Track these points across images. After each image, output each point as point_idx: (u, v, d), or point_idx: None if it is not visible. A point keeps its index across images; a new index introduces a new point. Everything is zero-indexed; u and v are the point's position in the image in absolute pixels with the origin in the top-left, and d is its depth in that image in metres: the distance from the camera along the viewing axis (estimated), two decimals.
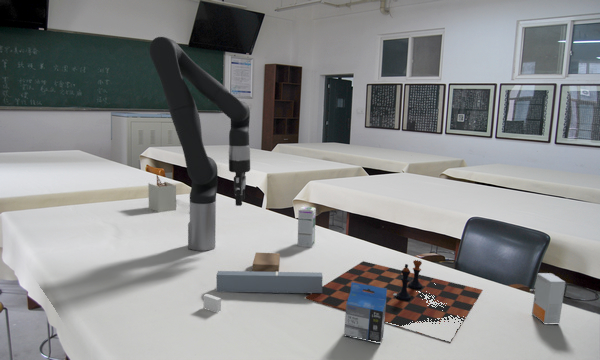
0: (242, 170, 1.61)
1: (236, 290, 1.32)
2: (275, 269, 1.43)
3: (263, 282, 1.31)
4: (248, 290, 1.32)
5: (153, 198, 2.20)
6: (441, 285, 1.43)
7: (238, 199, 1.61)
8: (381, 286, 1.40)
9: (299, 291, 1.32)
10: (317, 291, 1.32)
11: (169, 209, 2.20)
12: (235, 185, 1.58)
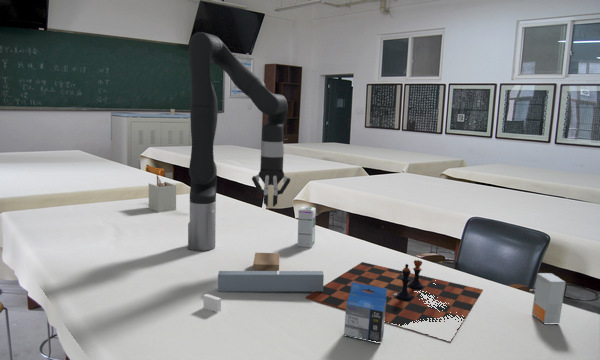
0: None
1: (238, 290, 1.32)
2: (275, 269, 1.43)
3: (264, 281, 1.32)
4: (250, 289, 1.32)
5: (153, 198, 2.20)
6: (441, 285, 1.43)
7: None
8: (381, 286, 1.40)
9: (300, 290, 1.33)
10: (318, 289, 1.33)
11: (169, 209, 2.20)
12: (286, 186, 1.55)
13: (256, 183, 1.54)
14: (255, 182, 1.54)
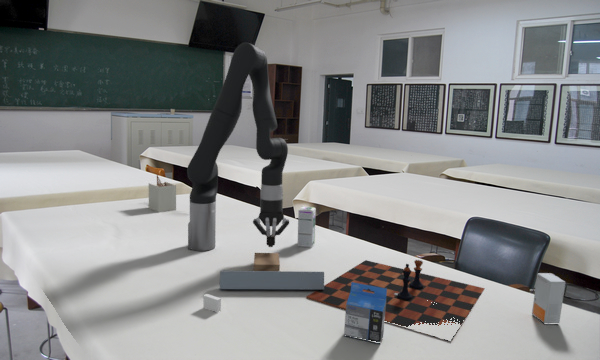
0: None
1: (239, 287, 1.32)
2: (276, 268, 1.43)
3: (266, 278, 1.33)
4: (251, 287, 1.32)
5: (153, 198, 2.20)
6: (442, 285, 1.43)
7: (274, 239, 1.59)
8: (382, 286, 1.40)
9: (302, 287, 1.34)
10: (319, 287, 1.34)
11: (169, 209, 2.20)
12: (284, 228, 1.58)
13: (258, 226, 1.57)
14: (257, 225, 1.57)
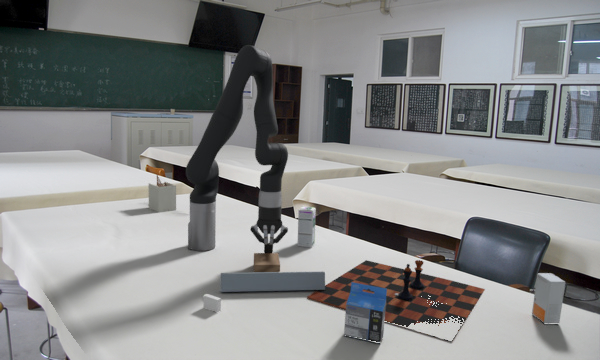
0: None
1: (240, 290, 1.31)
2: (277, 268, 1.43)
3: (267, 280, 1.32)
4: (252, 289, 1.31)
5: (153, 198, 2.20)
6: (443, 285, 1.43)
7: (272, 247, 1.54)
8: (383, 286, 1.40)
9: (303, 288, 1.34)
10: (320, 287, 1.34)
11: (169, 209, 2.20)
12: None
13: (255, 233, 1.52)
14: (254, 232, 1.52)
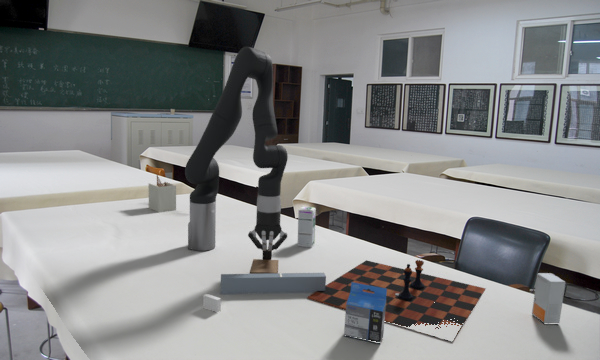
0: None
1: (240, 293, 1.31)
2: None
3: (268, 284, 1.32)
4: (252, 292, 1.31)
5: (153, 198, 2.20)
6: (443, 285, 1.43)
7: (271, 254, 1.48)
8: (383, 286, 1.40)
9: (303, 291, 1.34)
10: None
11: (169, 209, 2.20)
12: (282, 242, 1.46)
13: (253, 239, 1.46)
14: (252, 238, 1.46)
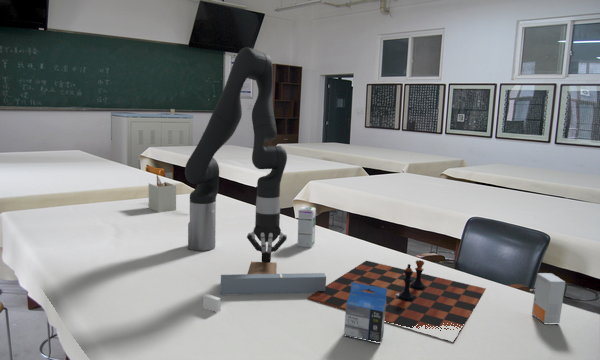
0: None
1: (240, 293, 1.31)
2: None
3: (268, 284, 1.31)
4: (253, 293, 1.31)
5: (153, 198, 2.20)
6: (443, 285, 1.43)
7: (270, 256, 1.46)
8: (383, 286, 1.40)
9: (303, 292, 1.33)
10: None
11: (169, 209, 2.20)
12: (281, 244, 1.45)
13: (252, 241, 1.44)
14: (251, 240, 1.44)
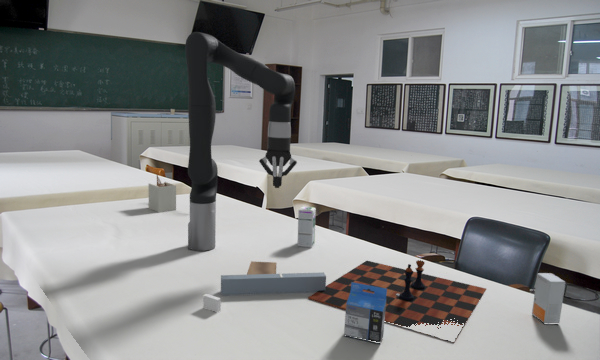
0: None
1: (241, 294, 1.30)
2: None
3: (268, 284, 1.31)
4: (253, 293, 1.31)
5: (153, 198, 2.19)
6: (444, 285, 1.43)
7: (281, 180, 1.54)
8: (384, 286, 1.40)
9: (303, 292, 1.34)
10: None
11: (169, 209, 2.20)
12: (291, 168, 1.53)
13: (264, 165, 1.52)
14: (263, 164, 1.52)
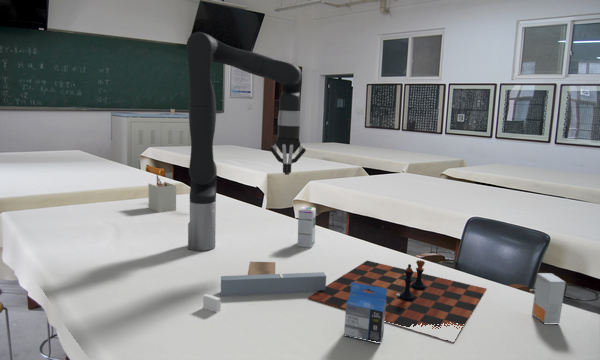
0: None
1: (241, 294, 1.30)
2: None
3: (268, 285, 1.31)
4: (253, 294, 1.31)
5: (153, 198, 2.19)
6: (444, 285, 1.43)
7: None
8: (384, 286, 1.40)
9: (303, 292, 1.34)
10: None
11: (169, 209, 2.20)
12: None
13: (274, 153, 1.58)
14: (273, 152, 1.58)
